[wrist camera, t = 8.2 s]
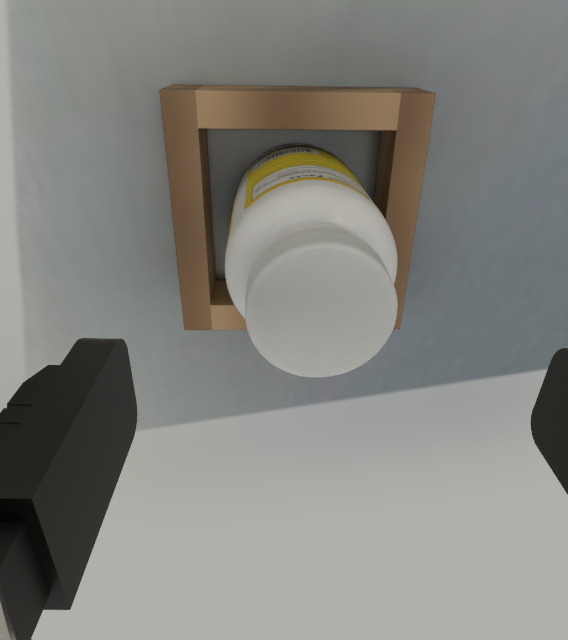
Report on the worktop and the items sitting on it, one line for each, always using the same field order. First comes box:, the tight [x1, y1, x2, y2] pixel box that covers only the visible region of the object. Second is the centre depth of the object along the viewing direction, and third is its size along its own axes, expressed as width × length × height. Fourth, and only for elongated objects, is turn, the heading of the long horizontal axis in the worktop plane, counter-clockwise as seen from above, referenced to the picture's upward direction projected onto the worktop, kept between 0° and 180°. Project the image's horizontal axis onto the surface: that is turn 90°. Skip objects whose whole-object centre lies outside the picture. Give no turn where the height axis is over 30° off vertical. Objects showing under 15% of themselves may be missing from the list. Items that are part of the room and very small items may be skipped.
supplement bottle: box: [225, 144, 398, 378], centre depth 17 cm, size 5×5×10 cm
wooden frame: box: [160, 85, 436, 330], centre depth 20 cm, size 9×9×2 cm
